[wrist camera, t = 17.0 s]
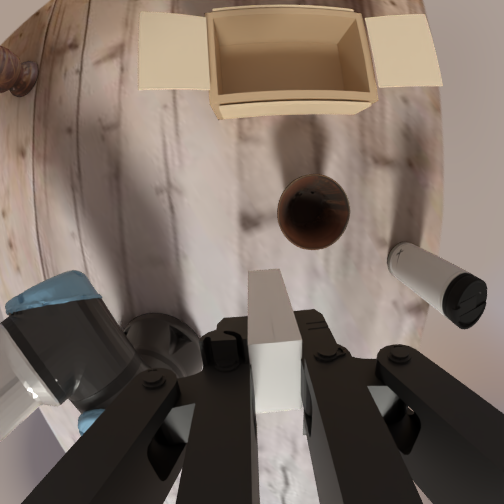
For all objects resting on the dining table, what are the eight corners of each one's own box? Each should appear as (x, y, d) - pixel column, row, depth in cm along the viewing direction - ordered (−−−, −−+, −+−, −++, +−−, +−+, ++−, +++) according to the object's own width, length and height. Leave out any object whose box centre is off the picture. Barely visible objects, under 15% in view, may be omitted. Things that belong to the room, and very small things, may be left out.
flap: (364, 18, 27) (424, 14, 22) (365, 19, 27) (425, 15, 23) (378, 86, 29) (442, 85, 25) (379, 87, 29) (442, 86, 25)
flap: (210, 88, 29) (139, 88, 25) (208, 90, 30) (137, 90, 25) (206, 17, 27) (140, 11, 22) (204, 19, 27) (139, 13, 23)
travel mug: (382, 247, 45) (454, 292, 26) (415, 237, 45) (494, 274, 26) (387, 282, 47) (452, 340, 28) (419, 271, 47) (491, 320, 27)
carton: (218, 124, 41) (210, 109, 31) (212, 39, 37) (204, 9, 27) (352, 118, 40) (379, 105, 31) (340, 37, 37) (360, 9, 27)
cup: (274, 247, 45) (283, 256, 35) (265, 187, 44) (272, 178, 34) (331, 239, 45) (355, 245, 35) (323, 180, 44) (345, 170, 34)
